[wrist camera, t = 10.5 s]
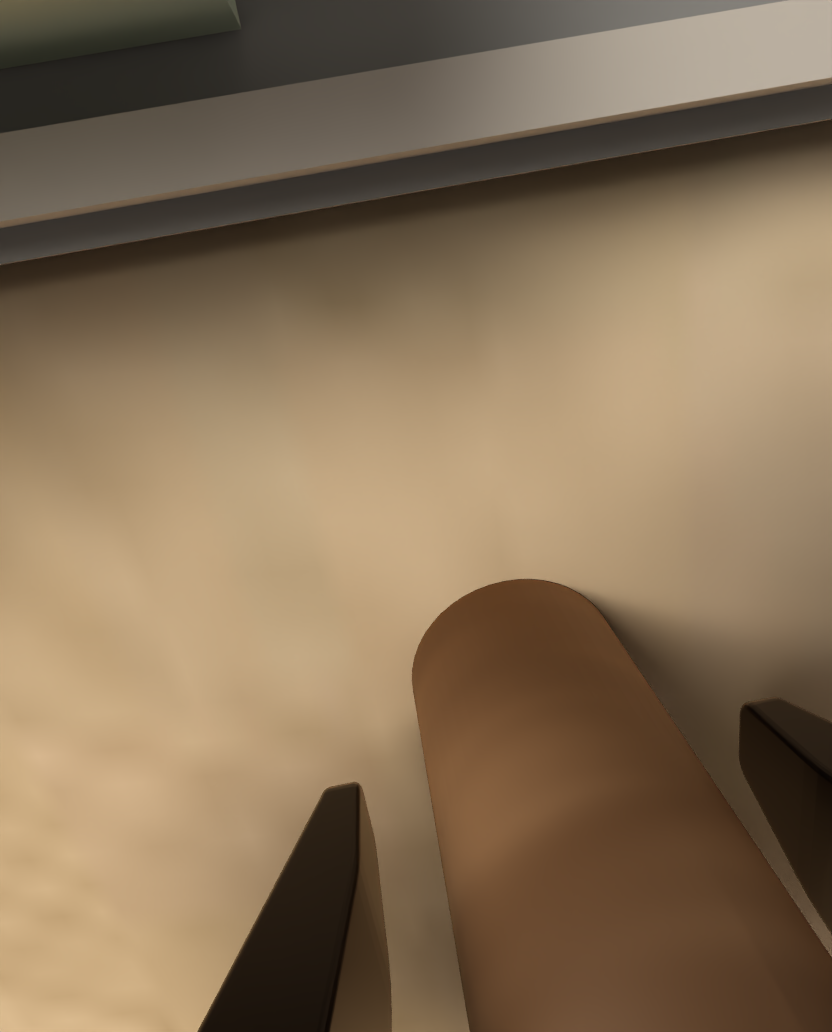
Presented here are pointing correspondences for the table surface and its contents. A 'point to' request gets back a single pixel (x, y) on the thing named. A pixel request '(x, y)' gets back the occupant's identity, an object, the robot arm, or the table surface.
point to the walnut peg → (593, 838)
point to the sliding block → (103, 26)
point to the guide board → (384, 106)
